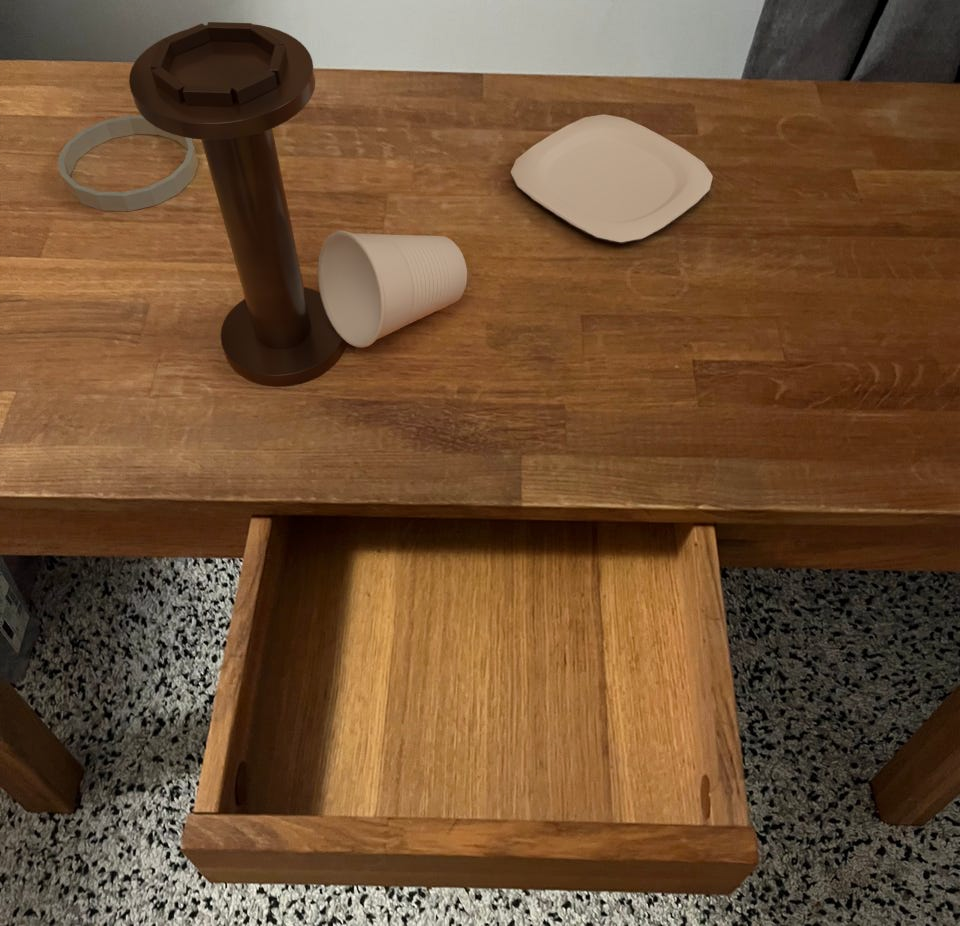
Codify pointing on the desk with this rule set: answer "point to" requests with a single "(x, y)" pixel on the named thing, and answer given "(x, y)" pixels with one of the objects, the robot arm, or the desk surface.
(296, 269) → the holder
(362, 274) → the cup
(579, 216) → the plate
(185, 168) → the grey faceted ring
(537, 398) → the desk surface
